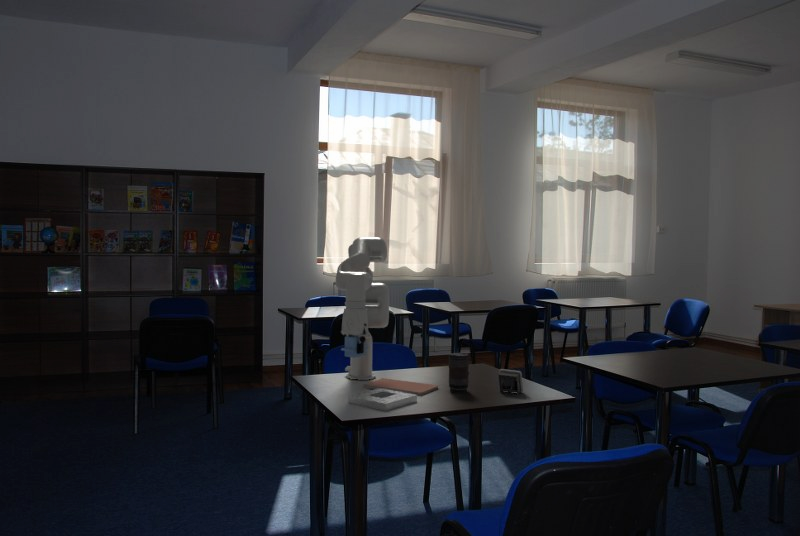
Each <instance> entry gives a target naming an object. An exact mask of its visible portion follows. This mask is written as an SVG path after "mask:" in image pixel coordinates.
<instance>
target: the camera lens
mask: <svg viewBox="0 0 800 536" xmlns="http://www.w3.org/2000/svg"><path fill="white" fill-rule="evenodd" d="M469 360H470V358H469V354H468V353H464V352H453V353H449V354H448V387H449V391H450V392H451V393H454V394H455V393H456V394H464V393H467V391H468V387H469V375H470V371H469V368H470V367H469V366H470V365H469V364H470V361H469Z"/></svg>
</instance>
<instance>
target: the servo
mask: <svg viewBox="0 0 800 536" xmlns="http://www.w3.org/2000/svg"><path fill="white" fill-rule="evenodd" d="M360 337H361V336H360ZM357 343H358V338H357V336H355V335H353V336H347V337H344V347H341V349H340V351H343V352H344V357H347V358H351V357H352V358H354V357H359V356H364V355H366V349H368V348H369V346H366V341H365V343H364V352H363V353H360V354H357Z"/></svg>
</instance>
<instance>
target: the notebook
mask: <svg viewBox="0 0 800 536" xmlns="http://www.w3.org/2000/svg"><path fill="white" fill-rule="evenodd" d="M362 386H363V388H364V387H366V388H367V389H368V390H372V389H373V390H374V389H378V388H383V389H388V390H393V391H398V392H404V393H409V394H414V395H417V397H418V396H419V397H421V396H424V395H426V394H428V393H430V392H433V391H436V390H438V389H439V387H440V385H437V384H430V383H423V382H417V381H415V382H414V381H408V380H401V379H391V378H384V377H382V378H379V379H376V380H373V381H370V382H365V383H364V384H362ZM366 388H365V389H366ZM370 388H372V389H370Z"/></svg>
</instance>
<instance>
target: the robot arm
mask: <svg viewBox="0 0 800 536" xmlns="http://www.w3.org/2000/svg"><path fill="white" fill-rule="evenodd" d="M347 249H348V250H347V251H348V252H347V254H348V257H347V258H346V259H345V260H343V261H341V263H339V265H338V267H337V269H336V270H337V271H336V275H335V287H336V288H337V289H338V290H340V291H345V301H344V305H345V308H344V309H343V313H342V319H341V320H342V321H341V330H340V334H342V335H343V337H344V338H345V337H347V336H353V335H355V336H357V338H358V343H357V354H360V353H363V352H364V343H365V341H366V346H369V348H368V349H366V355H364V356H359V357H354V358H352V357H350V365H347V366H346V367H345V368H344V371H345V372H348V374H346V378H347V379H348V378H350V379H349V380H352V379H358V380H357V381H370V380H374V379H376V374H375V373H373V336H372V335H371V333H370V331H369V328H370V329H373V328H374V329H381V328H382V329H385V328H386V327H388V325H389V322H390V321H389V319H390V291H389V290H390V289H389V287H388V285H387V284H386V283H383V282H374V281H373V279H374V277H373V276H374V275H373V274H374V273H373V271H372V269H371V268H370V267H369V266H370V264H371V263H383V262H385V261H386V259H387V258H388V247H387V244H386V241H385V240H384V239H383V238H382V237H365V236H364V237H363V236H362V237H357V238H355V239H354V240H353V242H352V244H350V245H349V246H348V248H347ZM360 336H361V337H360ZM369 379H370V380H369Z"/></svg>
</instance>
